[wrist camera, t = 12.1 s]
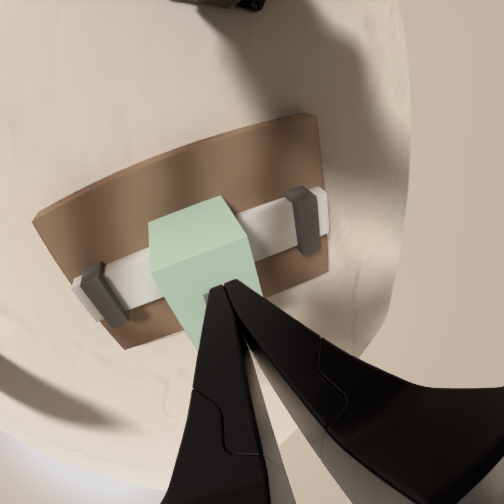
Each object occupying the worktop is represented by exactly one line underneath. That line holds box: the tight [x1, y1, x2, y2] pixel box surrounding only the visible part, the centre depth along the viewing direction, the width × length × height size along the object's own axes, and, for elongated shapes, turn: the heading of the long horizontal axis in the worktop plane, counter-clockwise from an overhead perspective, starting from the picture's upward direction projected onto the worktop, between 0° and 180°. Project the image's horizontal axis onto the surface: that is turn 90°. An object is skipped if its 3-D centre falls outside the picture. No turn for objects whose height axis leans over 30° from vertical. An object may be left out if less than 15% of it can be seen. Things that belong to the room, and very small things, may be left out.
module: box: [148, 195, 263, 350], centre depth 17 cm, size 5×7×6 cm
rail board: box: [32, 113, 329, 350], centre depth 19 cm, size 20×14×4 cm
